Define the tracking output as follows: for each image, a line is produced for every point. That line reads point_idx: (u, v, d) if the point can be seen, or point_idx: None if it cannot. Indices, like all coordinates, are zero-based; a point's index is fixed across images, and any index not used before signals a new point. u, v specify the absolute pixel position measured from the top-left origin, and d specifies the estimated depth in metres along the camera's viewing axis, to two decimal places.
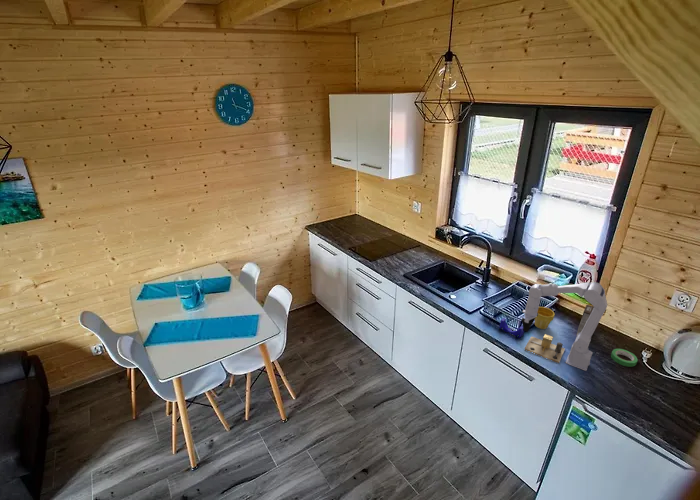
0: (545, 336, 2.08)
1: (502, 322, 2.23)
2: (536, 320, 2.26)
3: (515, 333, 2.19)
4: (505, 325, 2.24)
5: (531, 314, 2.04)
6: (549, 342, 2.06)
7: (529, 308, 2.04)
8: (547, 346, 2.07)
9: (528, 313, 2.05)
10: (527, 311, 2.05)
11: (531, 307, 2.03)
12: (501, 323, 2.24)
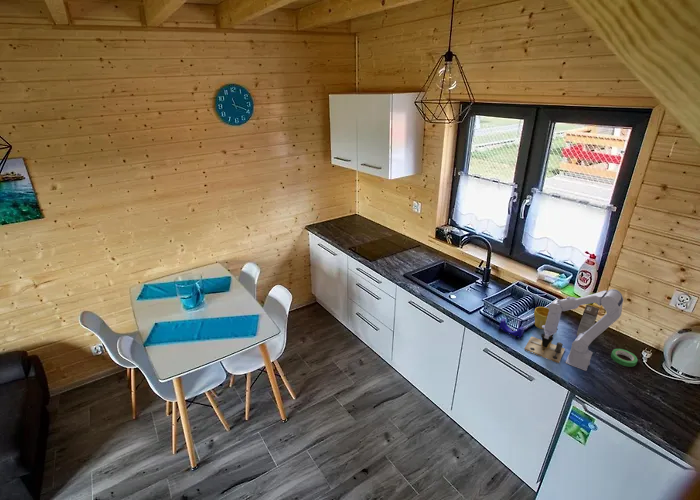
0: None
1: (502, 322, 2.23)
2: (536, 320, 2.26)
3: (515, 334, 2.19)
4: (505, 325, 2.24)
5: (551, 330, 2.02)
6: None
7: (549, 324, 2.02)
8: (547, 346, 2.07)
9: (548, 329, 2.03)
10: (547, 327, 2.03)
11: (550, 323, 2.01)
12: (501, 323, 2.24)
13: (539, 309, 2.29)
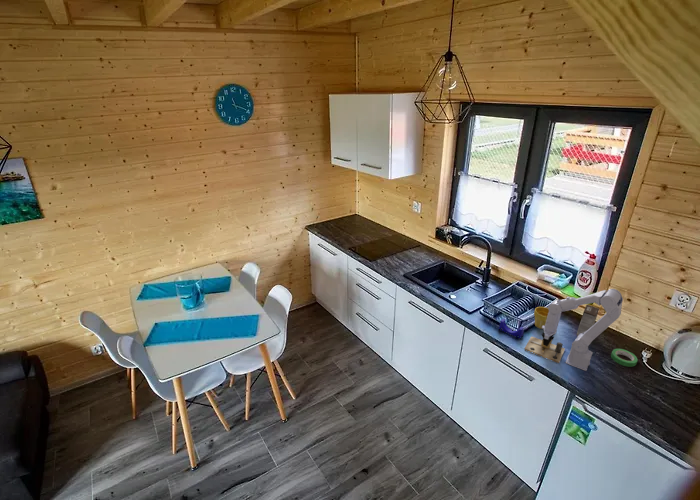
0: None
1: (502, 323, 2.23)
2: (536, 320, 2.26)
3: (515, 334, 2.19)
4: (505, 326, 2.23)
5: (551, 330, 2.02)
6: None
7: (549, 324, 2.02)
8: (547, 346, 2.07)
9: (548, 329, 2.03)
10: (547, 327, 2.03)
11: (550, 323, 2.01)
12: (501, 324, 2.23)
13: (539, 309, 2.29)
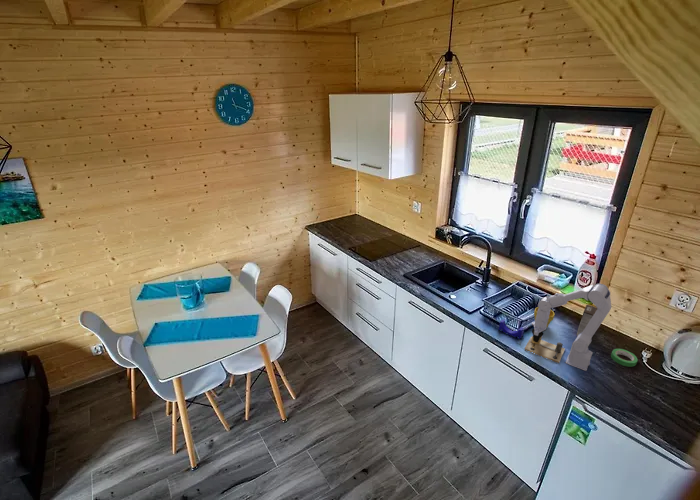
0: None
1: (501, 323, 2.22)
2: None
3: (515, 334, 2.18)
4: (504, 326, 2.23)
5: (540, 327, 2.05)
6: None
7: (539, 321, 2.04)
8: (537, 342, 2.10)
9: (537, 326, 2.06)
10: (536, 324, 2.06)
11: (540, 320, 2.04)
12: (500, 324, 2.23)
13: None
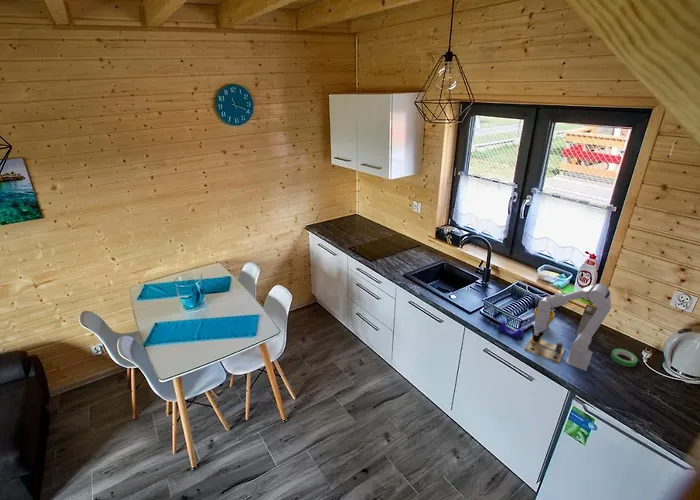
0: None
1: (501, 324, 2.22)
2: None
3: (515, 335, 2.18)
4: (504, 327, 2.22)
5: (540, 327, 2.05)
6: None
7: (538, 321, 2.04)
8: (537, 342, 2.10)
9: (537, 326, 2.06)
10: (536, 324, 2.06)
11: (540, 320, 2.04)
12: (500, 325, 2.22)
13: None
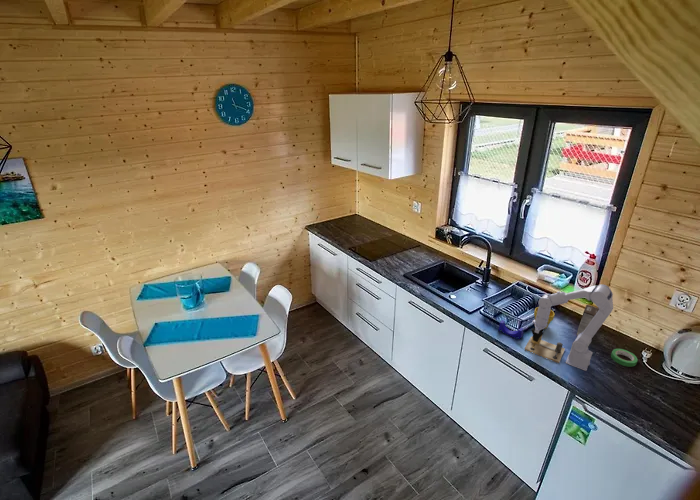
0: None
1: (501, 324, 2.21)
2: None
3: (515, 335, 2.18)
4: (504, 327, 2.22)
5: (541, 324, 2.04)
6: (539, 338, 2.09)
7: (539, 318, 2.04)
8: (537, 342, 2.10)
9: (538, 323, 2.05)
10: (537, 321, 2.05)
11: (541, 317, 2.03)
12: (500, 325, 2.22)
13: None
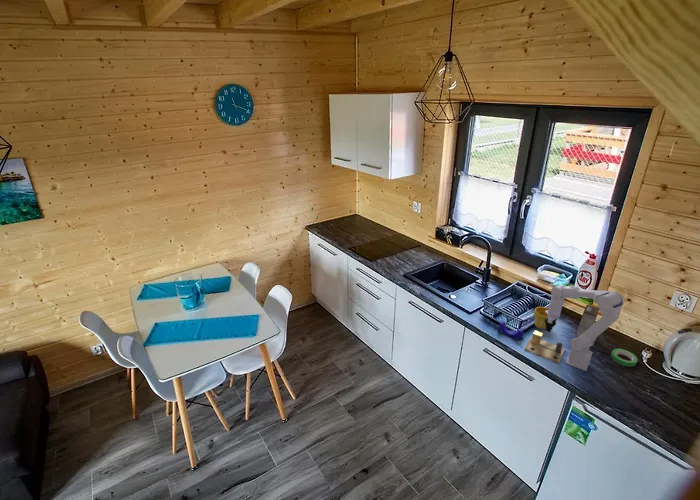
0: (535, 332, 2.10)
1: (501, 325, 2.21)
2: (536, 320, 2.26)
3: (515, 336, 2.17)
4: (504, 327, 2.22)
5: (554, 314, 2.04)
6: (539, 338, 2.09)
7: (552, 308, 2.04)
8: (537, 342, 2.10)
9: (551, 313, 2.05)
10: (550, 311, 2.06)
11: (552, 306, 2.04)
12: (500, 326, 2.22)
13: (539, 309, 2.29)
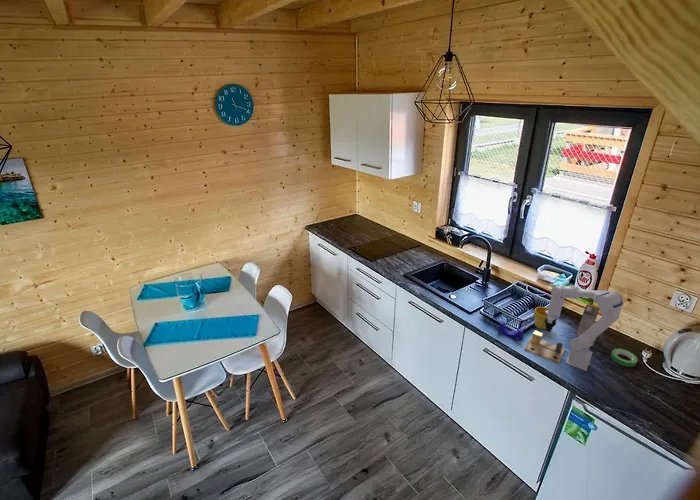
0: (535, 332, 2.10)
1: (501, 325, 2.21)
2: (536, 320, 2.26)
3: (515, 336, 2.17)
4: (504, 328, 2.21)
5: (554, 314, 2.04)
6: (539, 338, 2.09)
7: (552, 308, 2.04)
8: (537, 342, 2.10)
9: (551, 313, 2.05)
10: (550, 311, 2.06)
11: (552, 306, 2.04)
12: (500, 326, 2.21)
13: (539, 309, 2.29)
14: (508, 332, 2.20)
